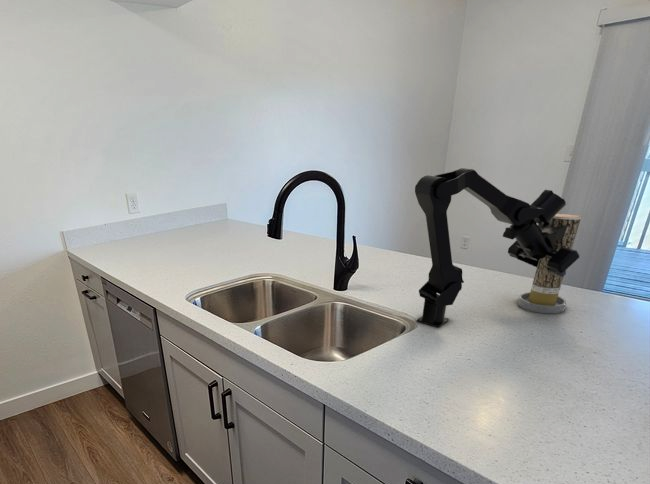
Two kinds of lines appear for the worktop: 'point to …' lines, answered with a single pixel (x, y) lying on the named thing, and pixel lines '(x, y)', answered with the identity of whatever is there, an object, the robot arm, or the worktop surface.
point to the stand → (533, 307)
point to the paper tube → (545, 280)
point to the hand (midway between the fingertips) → (553, 271)
